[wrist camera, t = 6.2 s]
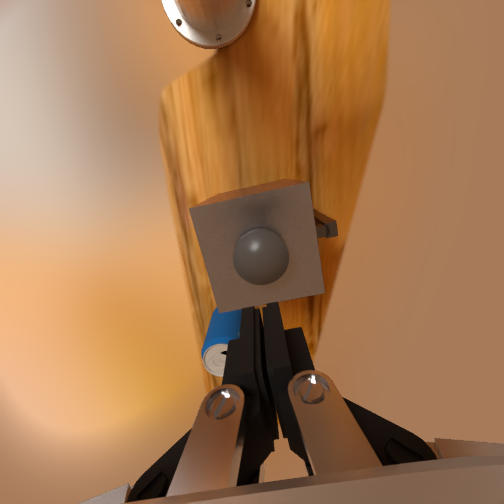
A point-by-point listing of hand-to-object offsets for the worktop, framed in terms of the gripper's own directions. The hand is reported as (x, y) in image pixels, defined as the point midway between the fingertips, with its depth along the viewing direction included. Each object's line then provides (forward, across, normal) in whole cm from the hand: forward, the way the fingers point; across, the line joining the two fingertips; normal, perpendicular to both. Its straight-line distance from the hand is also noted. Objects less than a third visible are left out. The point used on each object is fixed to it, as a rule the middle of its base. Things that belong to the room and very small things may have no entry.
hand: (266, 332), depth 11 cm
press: (+32, -1, +1) cm, 32 cm away
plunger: (+31, 0, 0) cm, 31 cm away
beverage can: (+32, +9, +18) cm, 38 cm away
